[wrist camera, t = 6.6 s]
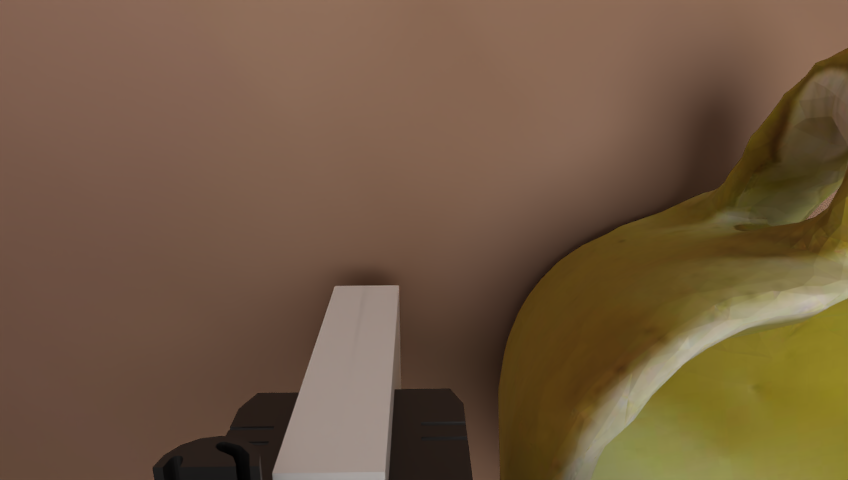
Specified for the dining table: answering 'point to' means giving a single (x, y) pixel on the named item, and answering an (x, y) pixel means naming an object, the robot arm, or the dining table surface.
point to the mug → (700, 325)
